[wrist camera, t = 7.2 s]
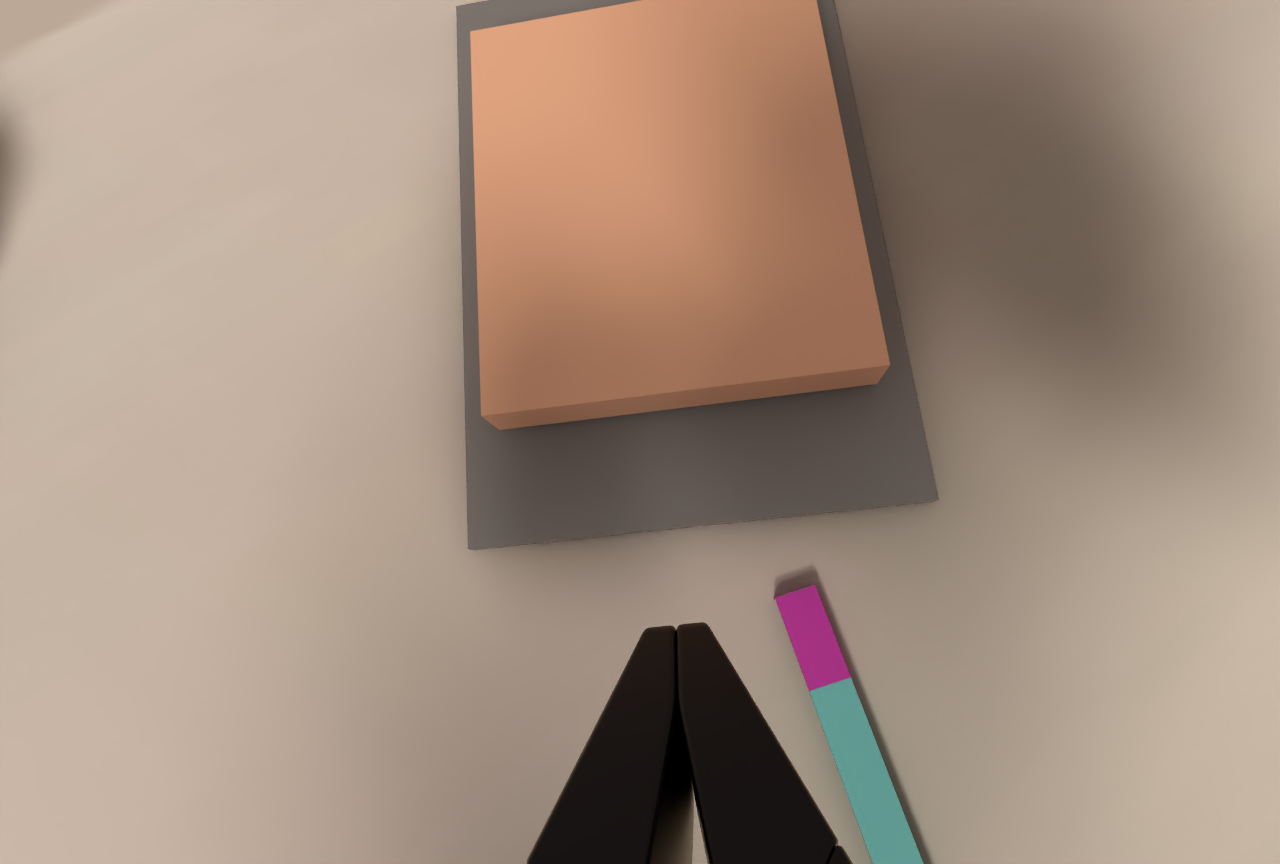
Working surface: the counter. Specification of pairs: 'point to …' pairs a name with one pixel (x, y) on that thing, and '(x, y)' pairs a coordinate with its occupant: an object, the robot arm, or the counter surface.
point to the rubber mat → (692, 436)
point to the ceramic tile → (664, 213)
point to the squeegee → (847, 730)
